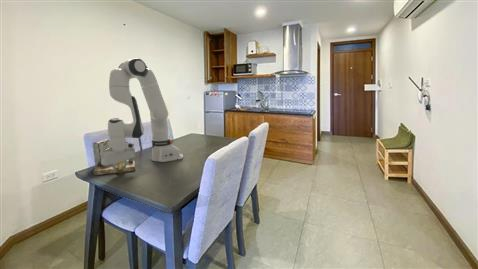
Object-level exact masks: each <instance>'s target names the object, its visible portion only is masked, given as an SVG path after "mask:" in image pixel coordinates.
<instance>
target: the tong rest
mask: <svg viewBox="0 0 478 269" xmlns="http://www.w3.org/2000/svg"><path fill="white" fill-rule="evenodd" d="M114 166H115V167H117V165H114ZM135 170H136V163H135V160H133V163H128V164H126V167H125V168H124V167H123V173H124V172H132V171H133V172H134V171H135ZM115 173H116V174H118V173H117V170H115V171H114V170H113V167H112V166H111V165H110V166H102V167H98V164H97V165H96V167H95V168H94V169H93V175H94V176H98V175H107V174H108V175H109V174H115Z"/></svg>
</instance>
